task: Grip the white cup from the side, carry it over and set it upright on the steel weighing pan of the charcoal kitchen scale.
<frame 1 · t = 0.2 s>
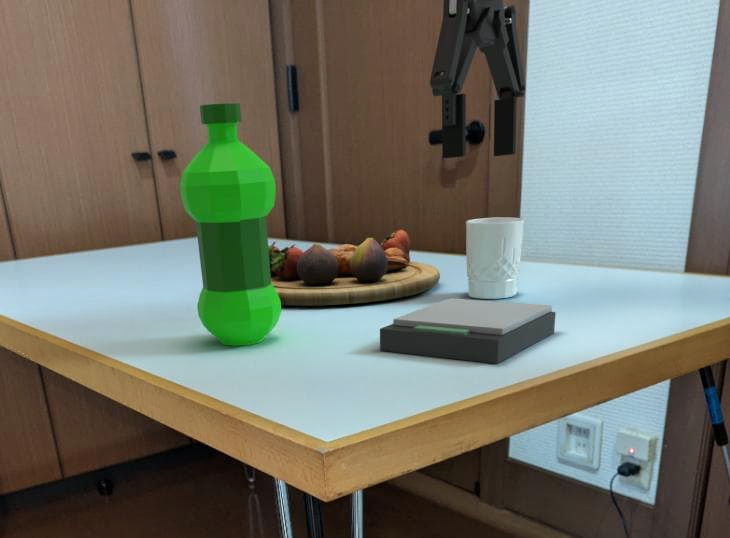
hand: (480, 156, 100), 18 cm above the table, tool pointing down, fingers open, 13 cm apart
white cup: (491, 296, 114), on the table
plastic bottle: (242, 342, 96), on the table
kitchen scale: (468, 341, 90), on the table
wooden plate: (337, 290, 126), on the table
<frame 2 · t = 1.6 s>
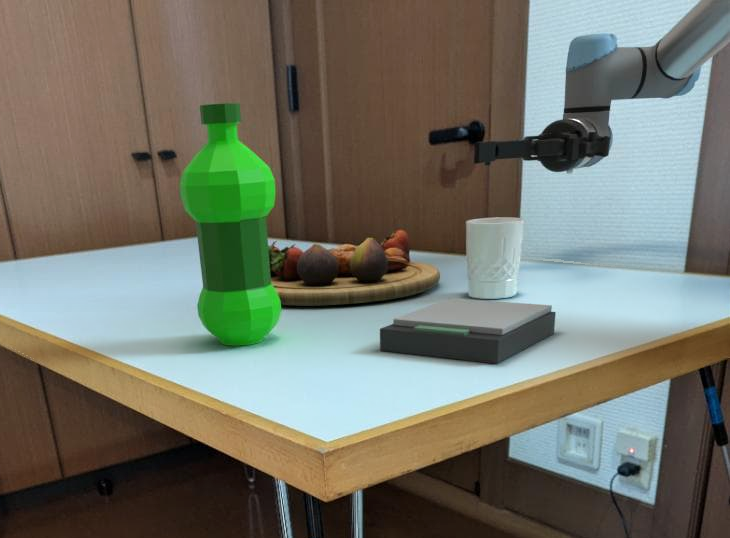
hand: (521, 151, 113), 18 cm above the table, tool horizontal, fingers open, 13 cm apart
nothing on the table moved.
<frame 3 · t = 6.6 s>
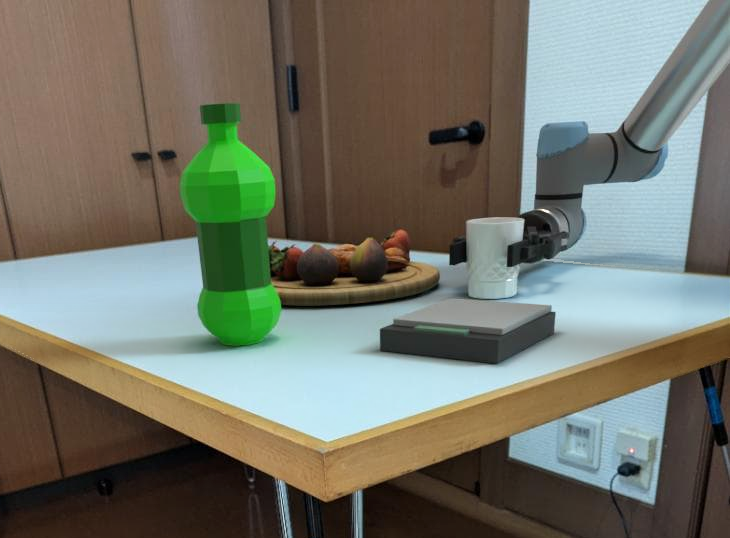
hand: (480, 255, 108), 6 cm above the table, tool horizontal, fingers closed on white cup, 8 cm apart
white cup: (491, 296, 114), on the table, touching gripper
everything else where it was.
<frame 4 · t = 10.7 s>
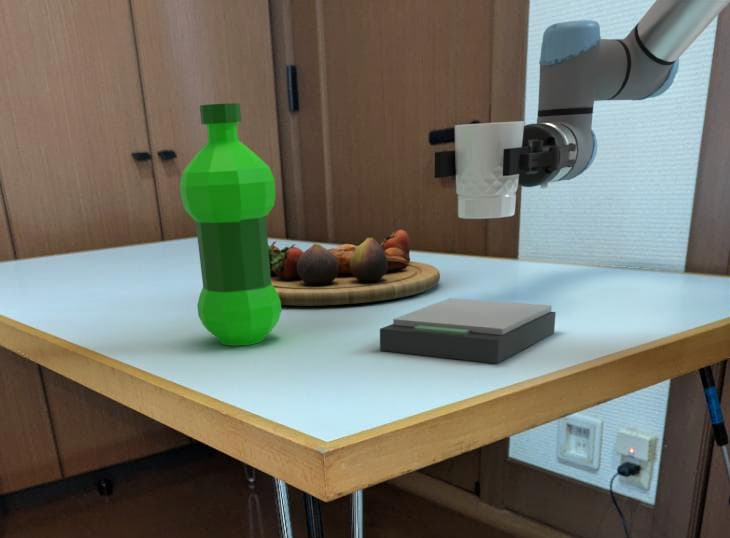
hand: (471, 163, 90), 18 cm above the table, tool horizontal, fingers closed on white cup, 8 cm apart
white cup: (485, 218, 97), point 12 cm above the table, touching gripper
everything else where it was.
when the fingers open (9 cm above the table, at t = 15.2 s): white cup stays where it is, resting on kitchen scale.
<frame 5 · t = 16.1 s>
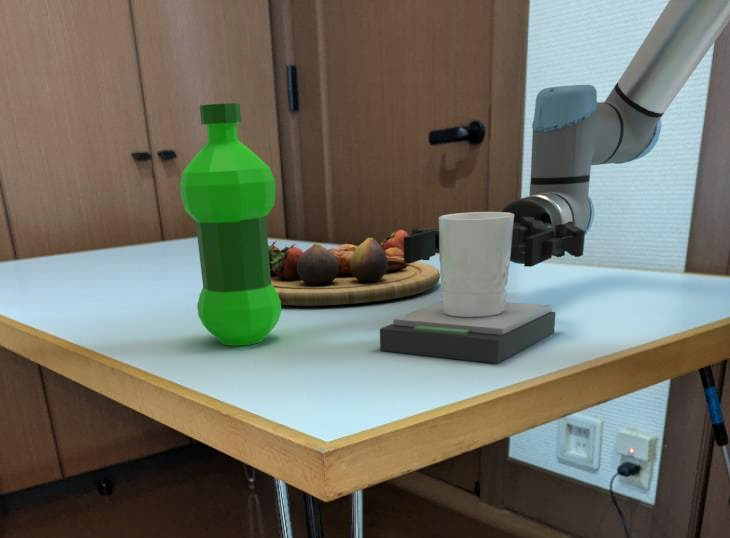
hand: (465, 251, 84), 10 cm above the table, tool horizontal, fingers open, 13 cm apart
white cup: (473, 313, 89), point 3 cm above the table, touching kitchen scale
everything else where it was.
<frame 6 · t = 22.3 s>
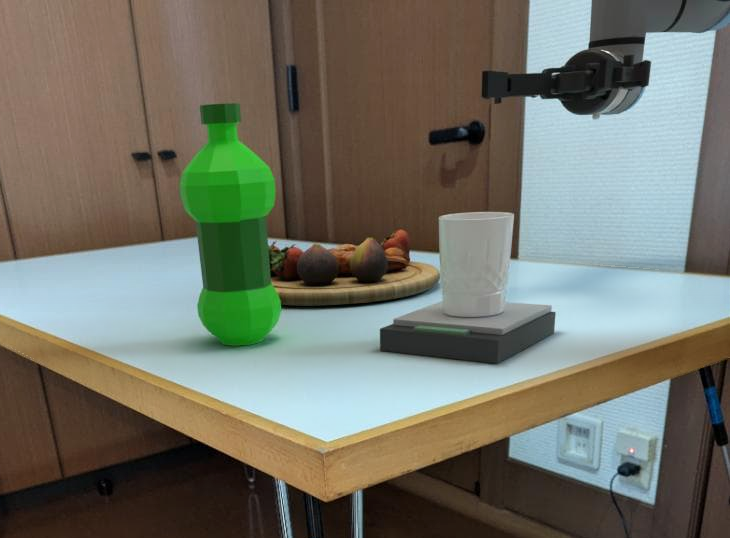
hand: (541, 79, 91), 26 cm above the table, tool horizontal, fingers open, 13 cm apart
nothing on the table moved.
at the end: white cup inside the target area on the kitchen scale (0.1 cm from its centre), point 2.9 cm above the kitchen scale's base; white cup tilted 0°; the gripper is holding nothing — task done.
